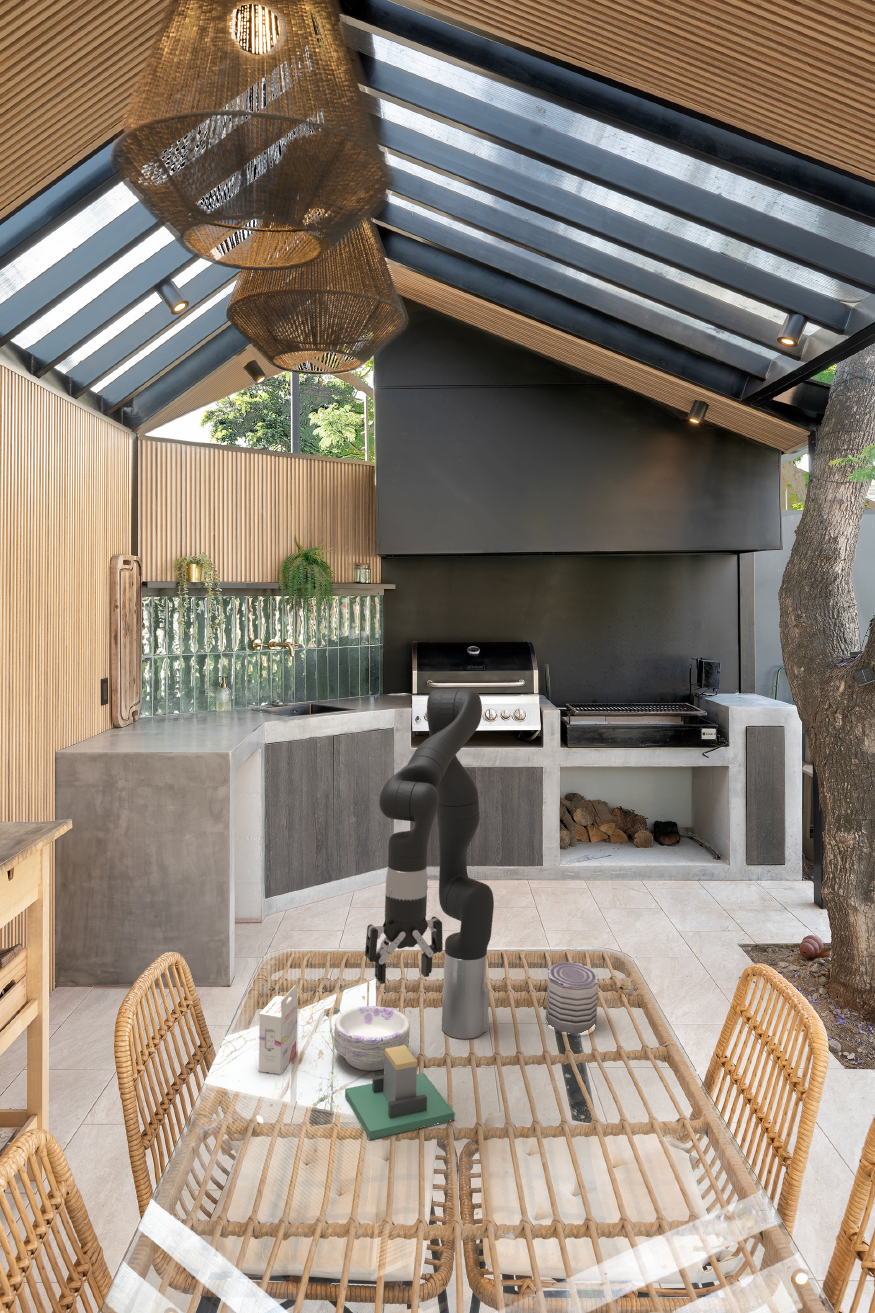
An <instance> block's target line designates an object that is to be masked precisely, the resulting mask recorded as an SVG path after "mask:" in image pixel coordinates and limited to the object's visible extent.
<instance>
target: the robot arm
mask: <svg viewBox="0 0 875 1313" xmlns="http://www.w3.org/2000/svg"><path fill="white" fill-rule="evenodd" d="M481 700H482V699H481V697H480V695H479V692H477V691H476V690H474V689H469V688H447V689H446V688H440V689H439V688H438V689H433V690H432V691H431V692H429V695H428V697H427V703H426V716H427V717H426V719H427V725H428V732H429V733H428V734H429V736H428V738H426V739H425V740H423V742H421V743H420V744H419V745H418V747H417V748H416V749H415V750H414V752H413V754H412V755H411V758H410V760H409V761H408V763H407V765H404V766H403V768H401V769H400V770H399V771H398V772H396V773H395V774H394V775H393V776H391V777H390V778H389V779H388V780H387V781H386V783H384V786H383V788H382V790H381V791H380V794H379V804H378V805H379V808H380V811H381V813H382V814H383V815H384V817H387V818H388V819H392V820H397V821H404V822H405V821H408V822H415V823H414V824H415V825H414V828H413V830H405V831H399V832H395V833H393V834H391V836H389V838H388V839H389V840H388V846H387V847H388V849H387V850H388V852H387V853H388V854H387V855H388V856H387V871H386V876H385V895H384V896H385V897H384V899H385V900H384V901H385V902H384V922H383V924H382V925H376V926H375V925H374V924H372V923H371V924H368V925H367V928H366V939H365V949H364V950H365V951H364V956H365V957H366V959H368V961H369V962H370V963H374V977H375V979H376V980H377V982H378V983H379V984H380V985H385V984H386V976H387V975H386V973H387V972H386V971H387V964H386V961H387V960H388V958H389V957H390V956H391V955H393V954H394V952H395V951H396V950H397V949H398V950H402V949H404V948H415V946H416V945H418V947H419V949H421V950H422V953H421V961H420V963H421V966H420V972H421V975H422V976H423V977H424V978H428V977H430V974H431V973H432V971H433V957H434V955H435V954H437V953H442V952H443V922H442V921H441V920H440V919H439V918H438V917H437V916H432V917H431V918H430V919H426V917H427V906H428V904H427V902H428V888H429V886H428V871H427V870H428V869H427V866H428V865H427V861H428V860H427V859H428V857H427V856H428V845H429V840H430V839H429V838H430V834H431V830H432V827H433V825H434V824H433V823H434V820H435V818H437V819H436V820H437V826H438V848H439V871H438V872H439V874H438V875H439V876H438V877H439V878H438V880H439V881H438V899H439V900H438V901H439V906H440V908H441V910H442V912H443V913H444V914H445V915H447V916H448V917H450V918H452V919H455V920H456V921H460V929H459V932H454V933H452V934H451V933H450V935H448V936H447V937H446V938H445V942H444V962H443V966H444V967H443V984H442V987H443V988H442V1008H441V1009H442V1012H441V1030H442V1032H443V1033H445V1035H447V1036H449V1037H451V1038H455V1039H461V1040H466V1039H469V1040H470V1039H474V1038H477V1037H480V1036H481V1035H482V1034H484V1033H487V1032H488V1024H489V1023H488V1021H489V1005H490V1004H489V1000H490V997H489V996H490V989H489V987H487V984H486V983H487V981H486V980H487V959H488V958H487V956H488V946H489V945H490V944H489V943H490V941H491V937H492V931H493V930H492V928H493V918H494V909H495V908H494V906H495V902H494V901H495V898H494V893H493V890H492V889H491V887H490V886H489V885H488V884H486V883H485V882H482V881H480V880H476V879H473V878H471V877H469V874H468V866H467V856H468V855H467V853H468V848H469V847H470V844H471V842H472V839H474V836H475V835H476V832H477V829H478V827H479V824H480V818H481V816H480V801H479V798H480V796H479V791H478V787H477V786H476V784H475V782H474V780H473V778H472V777H471V775H470V774H469V772H467V770H466V769H465V767H464V766H463V764H462V763H461V761H459V758H458V757H457V754H458V752H460V750H461V749H462V748H463V747H464V746H465V744H466V743H467V742H468V741H469V740H470V738H471V737H472V736H473V735H474V733H475V732H476V731H477V730H478V728H479V727H480V726H479V725H480V724H481V720H482V714H483V704H482V701H481ZM428 929H429V931H430V933H431V934H430V936H431V939H430V940H431V944H428V943H427V941H426V940H425V938H424V937H423V936H424V934H425V933H426V932H427V930H428ZM383 934H384V938H383V940H381V943H380V946H379V947H378V940H379V939H380V938H381V936H382V935H383Z"/></svg>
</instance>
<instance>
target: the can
mask: <svg viewBox="0 0 875 1313" xmlns="http://www.w3.org/2000/svg"><path fill="white" fill-rule="evenodd" d="M599 983H600V978H599V976H598V972H597V970H594V969H592V968H590V967H588V966H586V965H585V964H583V963H580V962H569V961H560V960H559V961H557V962H556V963H553V964H551V965H549V966H547V985H546V986H547V987H546V1006H545V1021H546V1020H547V1022H548V1025H551V1026H552V1027H554V1028H556V1029H557V1030H559V1031H561V1032H567V1033H574V1034H578V1033H582V1032H584V1031H586V1030H589V1029H590V1028H591V1027H592V1026H593V1025H594V1024H595V1023H596V1024H597V1014H598V999H599V998H598V994H599ZM547 1022H546V1023H547ZM548 1025H547V1026H548Z"/></svg>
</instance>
